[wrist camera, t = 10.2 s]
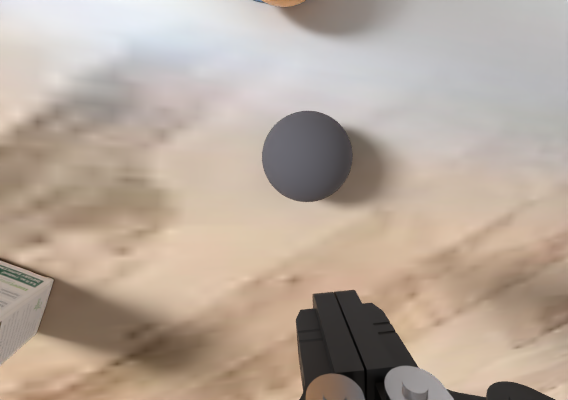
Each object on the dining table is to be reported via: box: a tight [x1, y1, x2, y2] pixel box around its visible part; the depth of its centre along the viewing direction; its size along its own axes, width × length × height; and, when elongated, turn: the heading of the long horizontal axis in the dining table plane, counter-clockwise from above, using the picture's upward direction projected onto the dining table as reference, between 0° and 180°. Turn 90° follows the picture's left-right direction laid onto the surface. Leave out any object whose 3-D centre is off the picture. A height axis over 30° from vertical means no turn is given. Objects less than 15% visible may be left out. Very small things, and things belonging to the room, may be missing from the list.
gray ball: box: [262, 111, 352, 202], centre depth 20 cm, size 6×6×6 cm
